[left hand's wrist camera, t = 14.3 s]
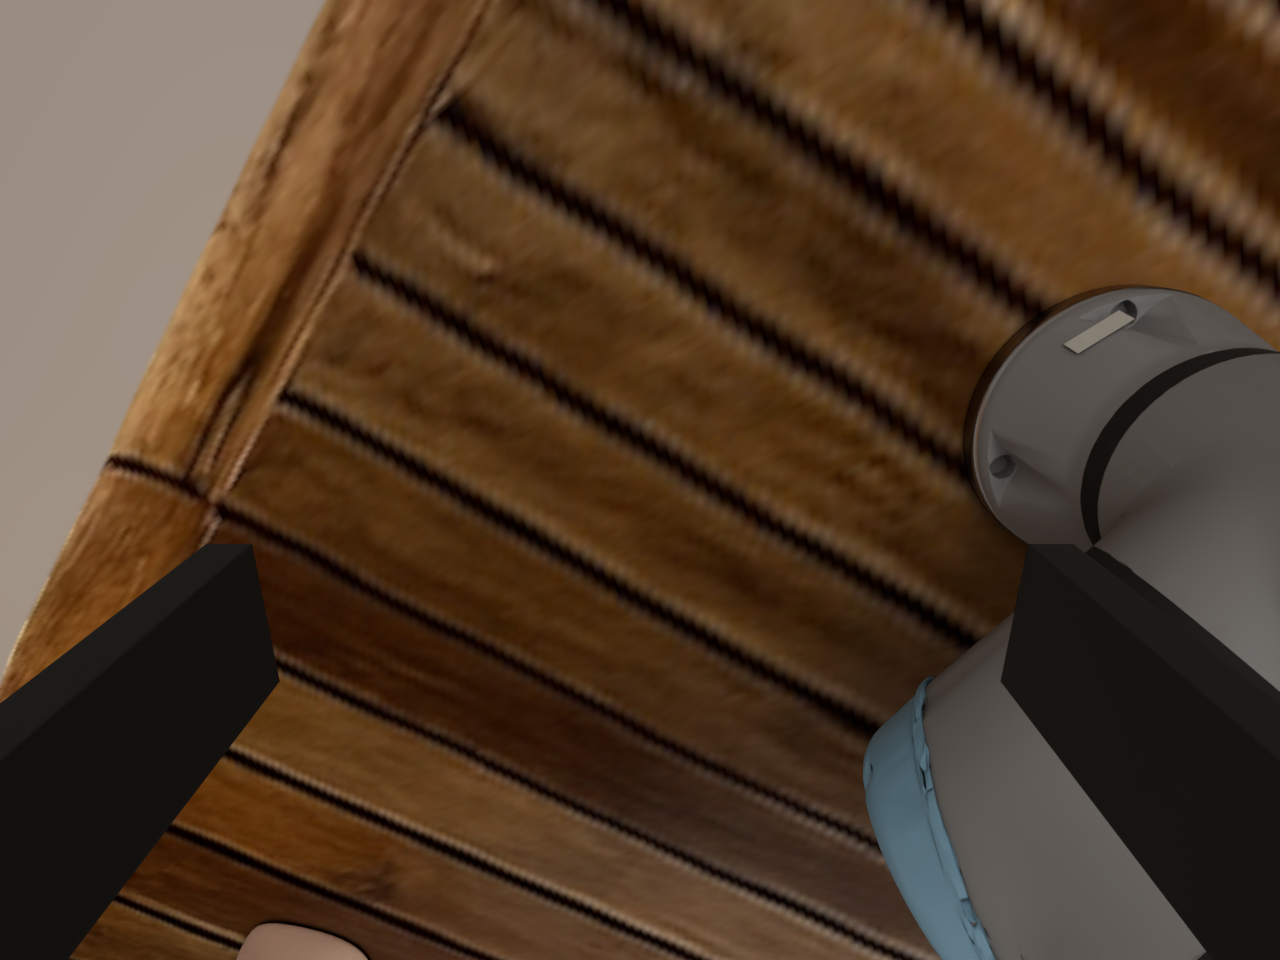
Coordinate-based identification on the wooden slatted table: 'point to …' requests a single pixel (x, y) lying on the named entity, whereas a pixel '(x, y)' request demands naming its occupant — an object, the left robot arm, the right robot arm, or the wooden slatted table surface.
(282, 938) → the anatomical model
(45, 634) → the wooden slatted table surface
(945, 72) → the wooden slatted table surface
